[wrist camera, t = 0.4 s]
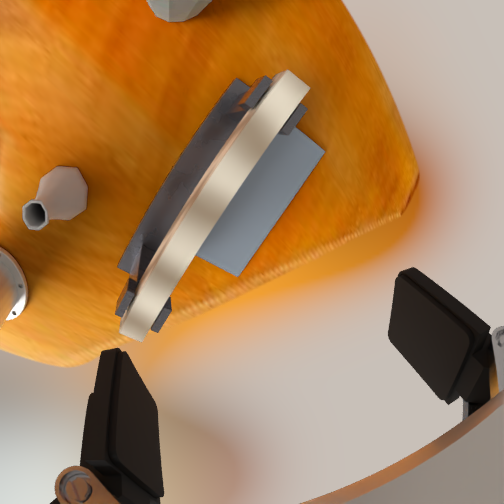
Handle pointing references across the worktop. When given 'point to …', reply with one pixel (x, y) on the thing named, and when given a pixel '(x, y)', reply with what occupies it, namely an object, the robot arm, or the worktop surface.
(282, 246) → the worktop surface
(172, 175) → the grey holder stand
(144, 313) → the rail
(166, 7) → the disposable coffee cup
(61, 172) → the flask
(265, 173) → the mat
